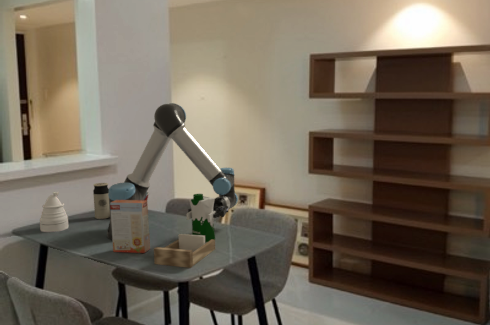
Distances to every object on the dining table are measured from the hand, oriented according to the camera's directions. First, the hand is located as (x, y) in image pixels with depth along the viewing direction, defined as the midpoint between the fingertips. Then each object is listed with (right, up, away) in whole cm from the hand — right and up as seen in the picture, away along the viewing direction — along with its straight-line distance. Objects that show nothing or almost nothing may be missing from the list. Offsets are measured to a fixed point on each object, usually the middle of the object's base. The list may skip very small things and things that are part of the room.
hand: (198, 217), depth 204 cm
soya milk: (+2, -10, +6) cm, 12 cm away
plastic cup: (-37, -6, +63) cm, 73 cm away
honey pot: (-74, -10, +38) cm, 84 cm away
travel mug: (-56, -7, +58) cm, 81 cm away
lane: (-3, -14, -9) cm, 17 cm away
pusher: (-2, -13, -4) cm, 14 cm away
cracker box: (-27, -14, -1) cm, 30 cm away
